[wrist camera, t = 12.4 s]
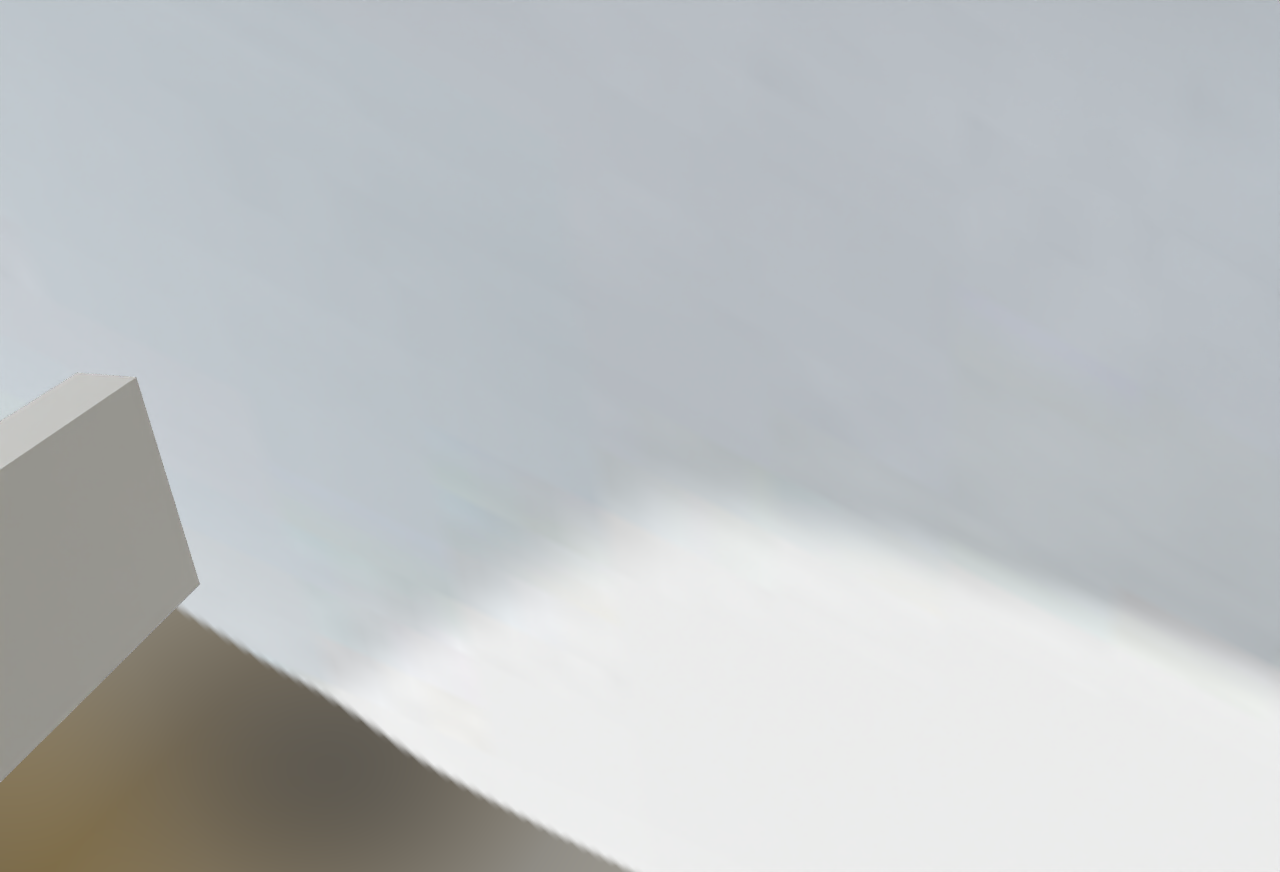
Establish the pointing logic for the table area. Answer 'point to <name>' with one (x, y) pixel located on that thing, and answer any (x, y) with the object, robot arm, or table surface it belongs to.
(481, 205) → the table surface
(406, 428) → the table surface
